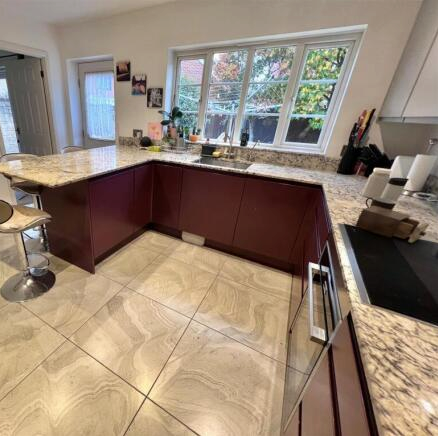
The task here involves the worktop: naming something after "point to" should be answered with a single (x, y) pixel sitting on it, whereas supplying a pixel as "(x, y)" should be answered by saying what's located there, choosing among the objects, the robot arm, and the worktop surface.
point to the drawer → (410, 229)
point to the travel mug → (394, 188)
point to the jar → (376, 183)
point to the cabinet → (380, 220)
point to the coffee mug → (382, 203)
